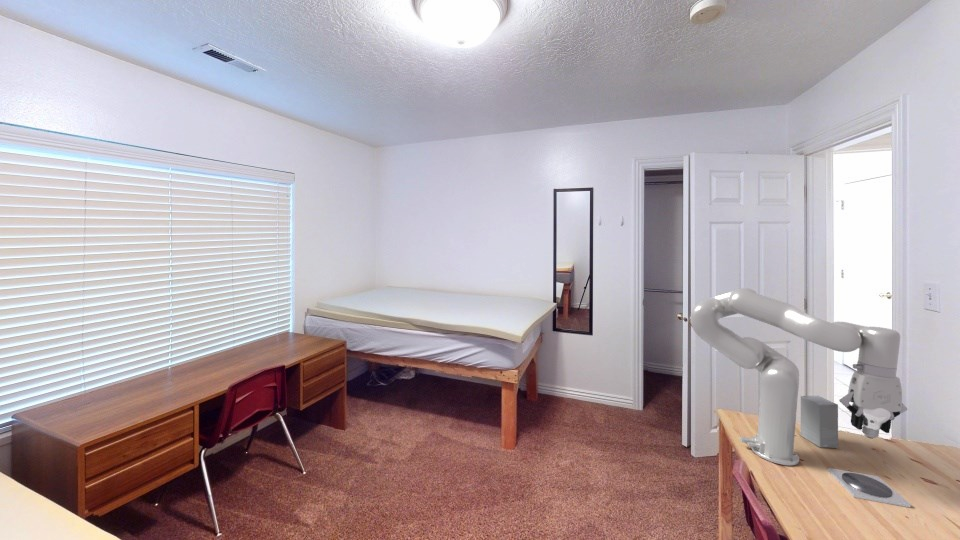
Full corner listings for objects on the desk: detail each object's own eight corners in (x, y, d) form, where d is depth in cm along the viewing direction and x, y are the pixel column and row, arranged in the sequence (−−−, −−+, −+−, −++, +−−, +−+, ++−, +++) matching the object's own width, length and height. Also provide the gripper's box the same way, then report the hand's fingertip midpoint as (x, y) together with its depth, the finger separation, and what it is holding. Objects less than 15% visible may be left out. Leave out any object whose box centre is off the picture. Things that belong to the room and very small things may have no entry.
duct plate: (853, 497, 99) (853, 492, 99) (827, 470, 111) (828, 467, 110) (910, 507, 95) (910, 503, 95) (877, 479, 107) (877, 475, 107)
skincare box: (838, 448, 122) (842, 405, 121) (817, 448, 123) (820, 404, 122) (816, 435, 131) (820, 394, 130) (796, 434, 131) (799, 394, 130)
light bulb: (895, 445, 100) (900, 405, 99) (867, 443, 101) (871, 403, 100) (872, 432, 107) (876, 394, 106) (846, 430, 108) (849, 392, 107)
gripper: (848, 371, 101) (842, 431, 102) (927, 378, 96) (919, 440, 98) (831, 362, 108) (825, 418, 109) (903, 368, 103) (896, 427, 105)
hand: (869, 428), depth 103 cm, fingers closed on light bulb, 5 cm apart
